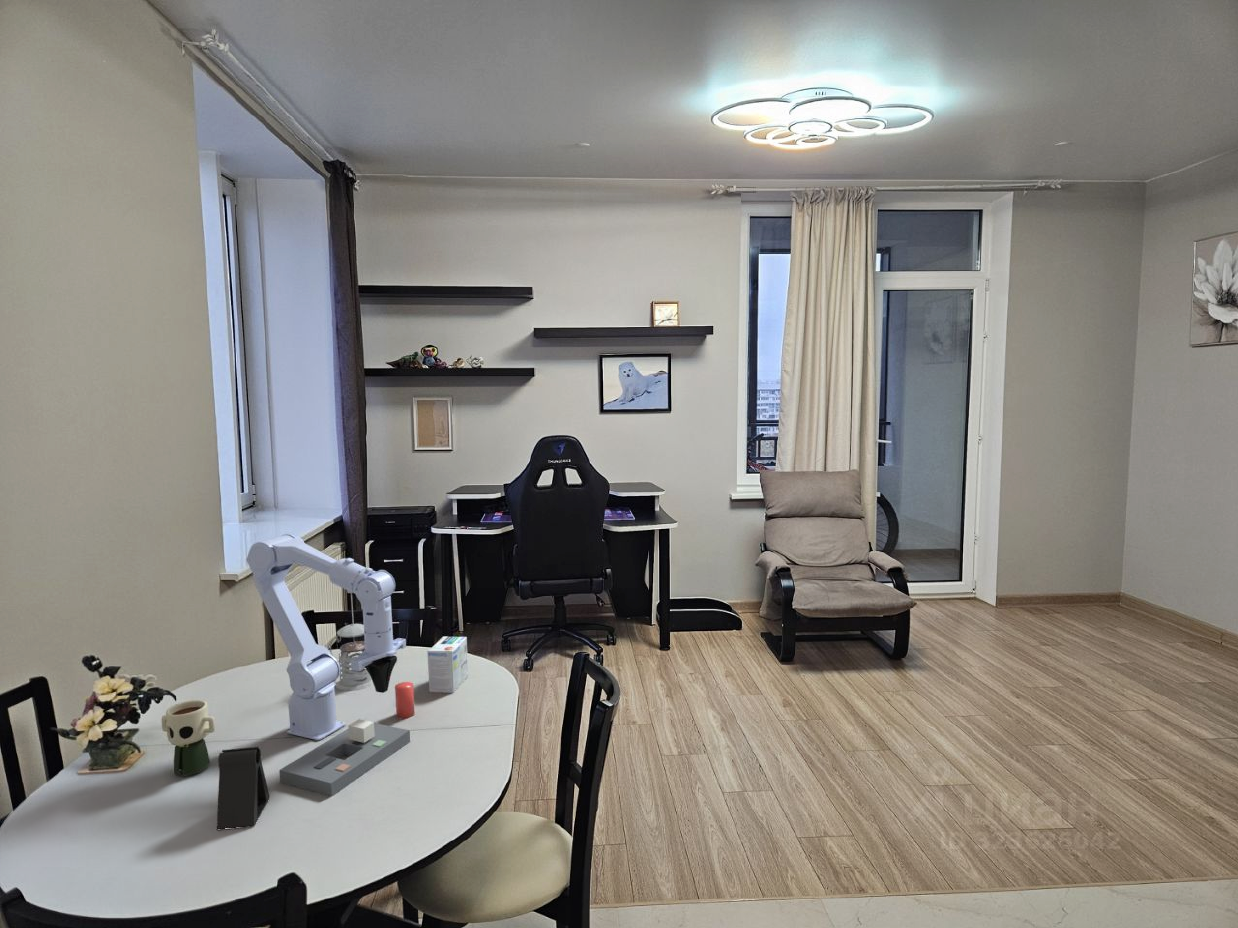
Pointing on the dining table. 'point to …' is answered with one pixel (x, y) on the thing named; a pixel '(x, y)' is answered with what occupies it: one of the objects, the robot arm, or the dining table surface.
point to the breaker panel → (334, 774)
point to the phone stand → (241, 788)
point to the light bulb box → (447, 664)
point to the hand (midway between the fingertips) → (381, 690)
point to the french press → (351, 658)
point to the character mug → (189, 735)
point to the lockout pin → (404, 700)
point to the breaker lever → (361, 730)
